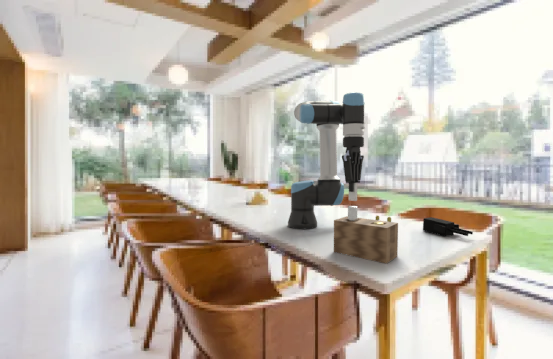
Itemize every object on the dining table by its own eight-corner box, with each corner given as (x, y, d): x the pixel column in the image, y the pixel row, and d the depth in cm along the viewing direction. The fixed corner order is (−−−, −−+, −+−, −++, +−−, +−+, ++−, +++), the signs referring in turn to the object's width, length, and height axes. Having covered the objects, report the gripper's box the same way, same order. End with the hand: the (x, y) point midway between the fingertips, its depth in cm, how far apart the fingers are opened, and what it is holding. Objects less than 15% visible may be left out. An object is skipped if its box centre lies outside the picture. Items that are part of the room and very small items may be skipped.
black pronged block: (477, 240, 133) (434, 229, 151) (478, 225, 132) (435, 216, 150) (462, 243, 128) (419, 231, 145) (463, 228, 127) (420, 218, 145)
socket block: (333, 251, 116) (333, 220, 115) (346, 246, 123) (346, 216, 122) (386, 263, 102) (387, 227, 102) (397, 256, 110) (398, 222, 109)
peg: (346, 233, 115) (346, 206, 115) (350, 231, 118) (350, 205, 117) (354, 234, 113) (354, 207, 112) (358, 232, 116) (358, 206, 115)
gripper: (354, 134, 106) (353, 203, 107) (370, 136, 115) (370, 199, 117) (335, 136, 110) (334, 201, 112) (352, 137, 120) (351, 197, 122)
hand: (352, 200), depth 114 cm, fingers closed
